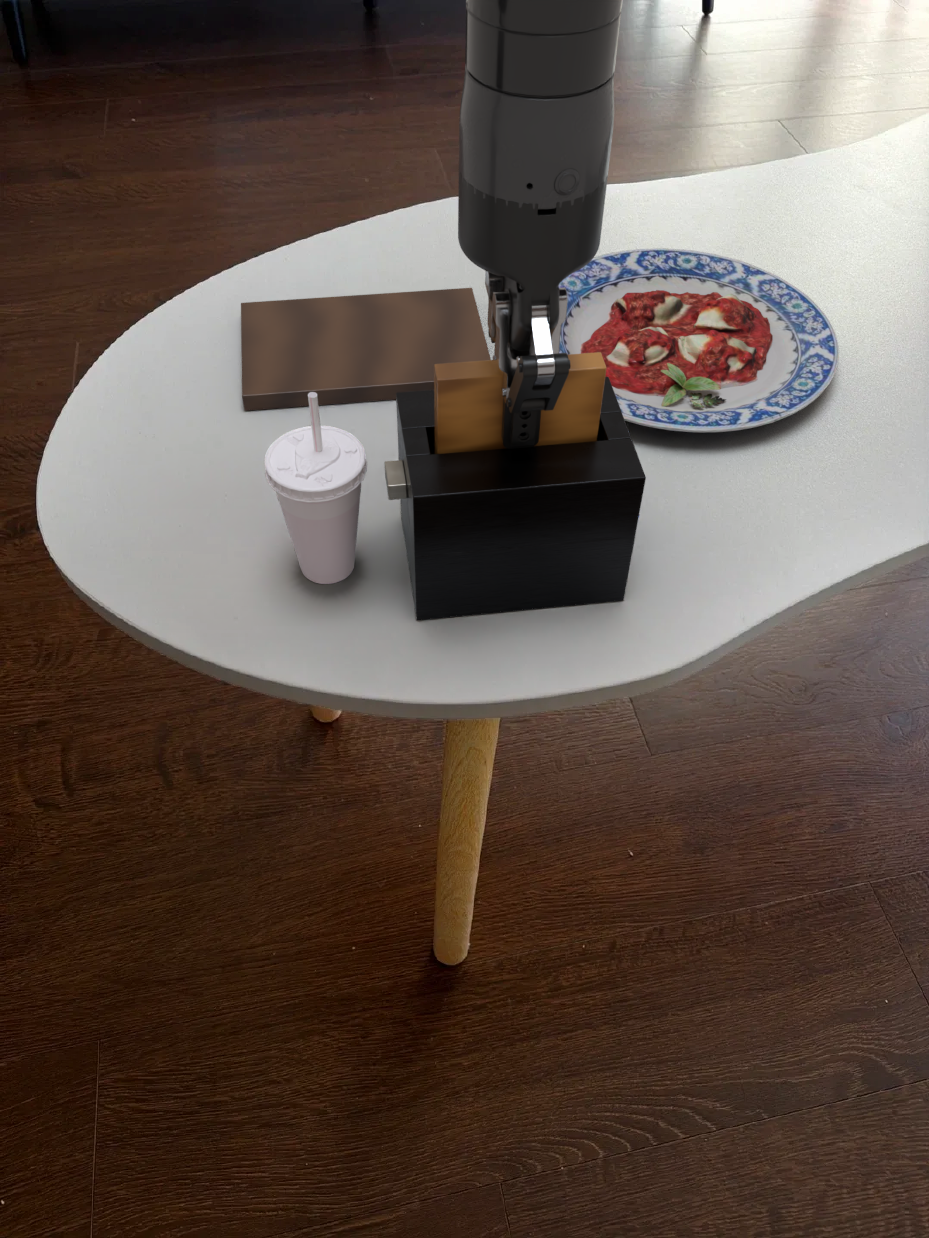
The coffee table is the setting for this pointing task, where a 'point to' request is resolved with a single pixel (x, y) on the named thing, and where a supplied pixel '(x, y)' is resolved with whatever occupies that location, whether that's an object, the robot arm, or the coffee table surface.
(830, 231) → the coffee table surface
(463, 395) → the toast
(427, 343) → the cutting board
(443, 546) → the toaster
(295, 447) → the smoothie
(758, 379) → the ceramic plate
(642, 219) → the coffee table surface
